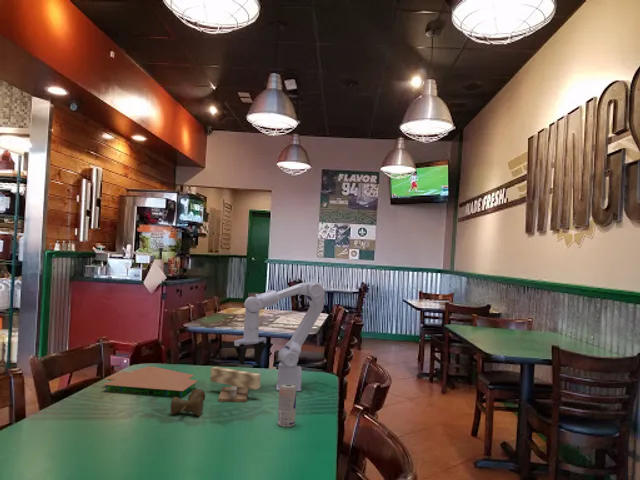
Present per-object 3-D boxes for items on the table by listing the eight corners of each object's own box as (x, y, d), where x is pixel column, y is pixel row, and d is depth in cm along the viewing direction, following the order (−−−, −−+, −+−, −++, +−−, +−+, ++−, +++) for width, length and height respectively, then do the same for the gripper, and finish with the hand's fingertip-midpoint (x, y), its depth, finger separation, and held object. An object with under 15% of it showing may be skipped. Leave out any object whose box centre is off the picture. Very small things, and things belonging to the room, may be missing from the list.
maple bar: (210, 381, 184) (211, 368, 185) (215, 379, 187) (215, 366, 187) (255, 389, 176) (256, 375, 176) (259, 387, 179) (260, 374, 179)
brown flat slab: (126, 378, 201) (128, 358, 201) (204, 384, 197) (205, 363, 197) (95, 392, 178) (96, 370, 178) (182, 400, 174) (183, 377, 175)
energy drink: (295, 422, 155) (297, 384, 156) (293, 428, 150) (295, 388, 150) (279, 420, 156) (281, 382, 156) (276, 426, 150) (278, 387, 151)
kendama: (211, 404, 171) (196, 421, 151) (184, 403, 171) (165, 420, 152) (212, 387, 172) (196, 402, 152) (185, 386, 172) (166, 401, 152)
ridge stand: (248, 389, 190) (248, 379, 190) (246, 402, 174) (247, 390, 174) (222, 389, 189) (222, 378, 189) (218, 401, 173) (218, 390, 173)
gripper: (243, 330, 183) (241, 367, 182) (272, 327, 194) (270, 362, 193) (231, 328, 188) (229, 363, 187) (260, 325, 198) (258, 359, 198)
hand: (249, 362), depth 190 cm, fingers open, 7 cm apart
